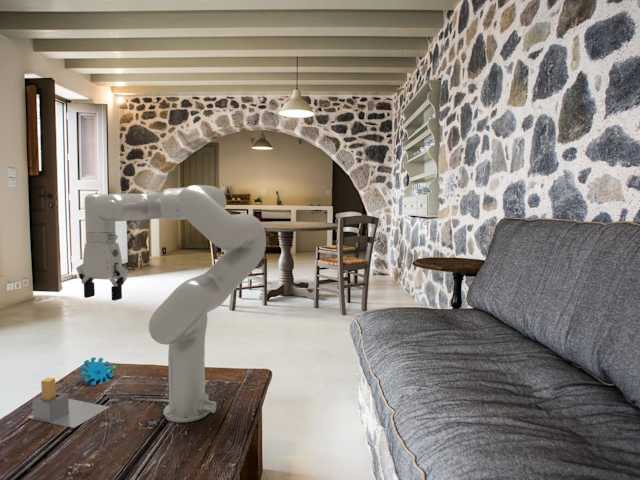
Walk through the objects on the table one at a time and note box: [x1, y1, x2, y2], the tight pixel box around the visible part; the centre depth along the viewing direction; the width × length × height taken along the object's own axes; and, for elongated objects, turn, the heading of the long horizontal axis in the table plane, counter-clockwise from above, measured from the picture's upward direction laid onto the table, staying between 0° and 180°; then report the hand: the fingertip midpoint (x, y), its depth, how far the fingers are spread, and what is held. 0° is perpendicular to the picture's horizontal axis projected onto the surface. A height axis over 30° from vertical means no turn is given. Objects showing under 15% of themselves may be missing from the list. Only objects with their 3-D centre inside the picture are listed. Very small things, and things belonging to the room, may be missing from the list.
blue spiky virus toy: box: [79, 356, 117, 387], centre depth 143 cm, size 11×6×10 cm
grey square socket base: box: [26, 391, 110, 429], centre depth 121 cm, size 16×12×6 cm
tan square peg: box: [40, 377, 57, 401], centre depth 118 cm, size 2×2×10 cm
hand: (103, 298), depth 127 cm, fingers open, 9 cm apart
